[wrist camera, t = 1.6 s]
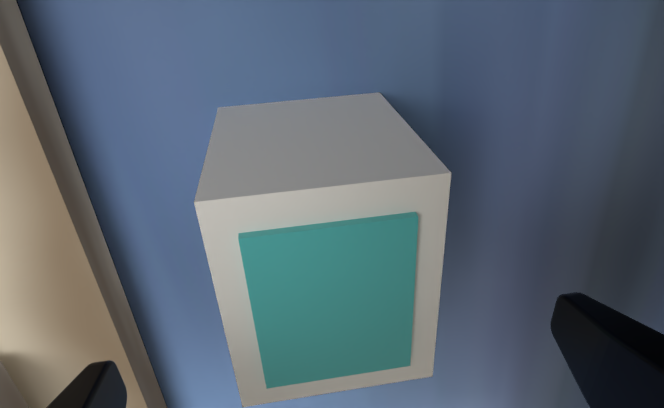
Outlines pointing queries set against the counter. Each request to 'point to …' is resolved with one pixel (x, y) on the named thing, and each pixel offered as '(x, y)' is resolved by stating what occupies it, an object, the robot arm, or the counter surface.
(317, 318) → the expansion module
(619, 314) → the robot arm
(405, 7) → the counter surface
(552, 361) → the counter surface
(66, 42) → the counter surface
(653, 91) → the counter surface
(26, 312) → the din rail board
